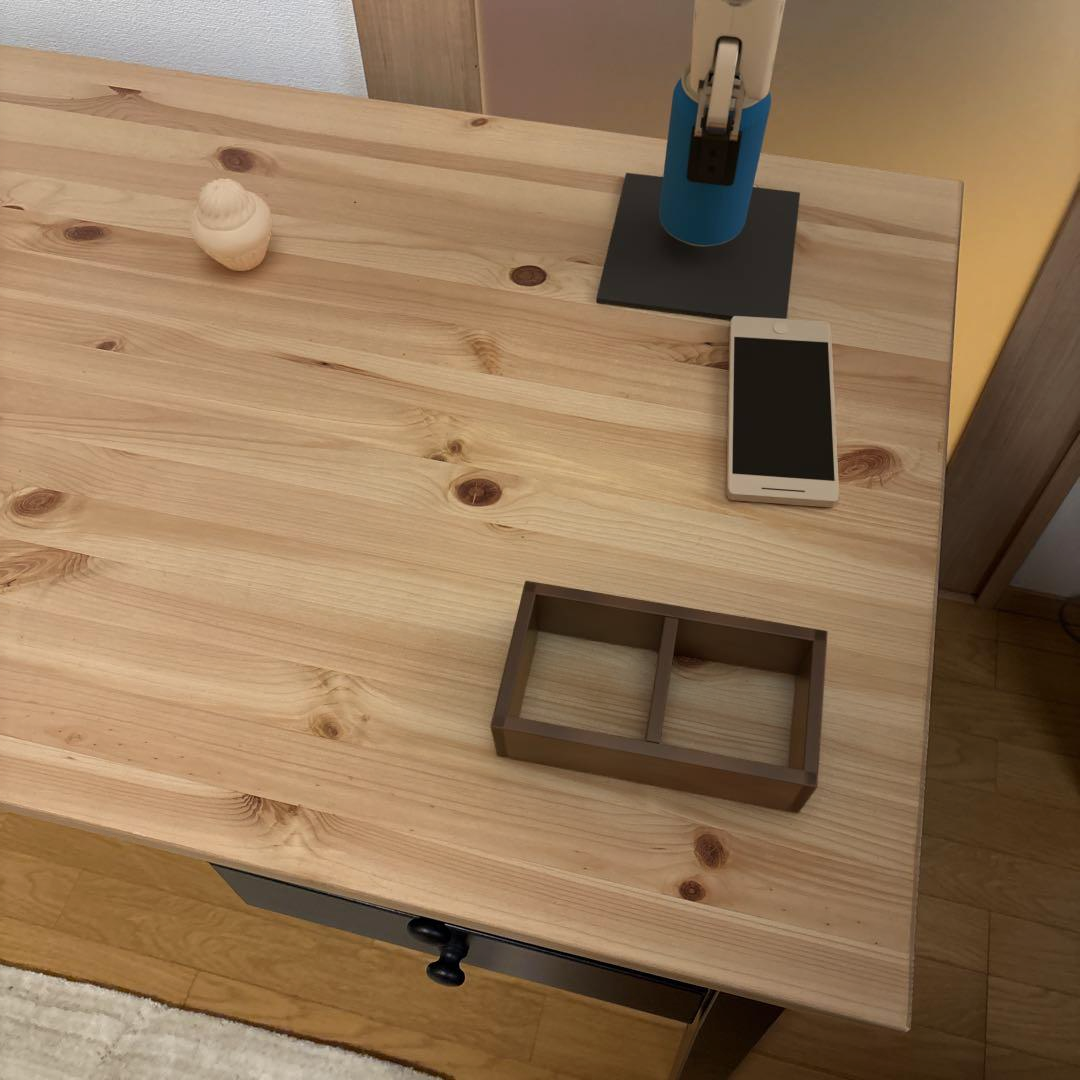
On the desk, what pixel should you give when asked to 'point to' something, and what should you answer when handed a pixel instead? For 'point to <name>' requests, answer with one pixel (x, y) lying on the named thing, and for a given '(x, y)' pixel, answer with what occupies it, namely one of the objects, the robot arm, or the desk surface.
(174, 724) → the desk surface
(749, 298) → the mat
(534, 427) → the desk surface
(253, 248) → the muffin
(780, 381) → the smartphone
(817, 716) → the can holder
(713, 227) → the beverage can
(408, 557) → the desk surface
